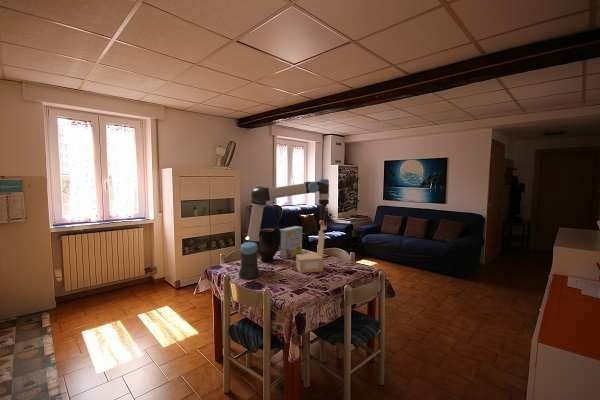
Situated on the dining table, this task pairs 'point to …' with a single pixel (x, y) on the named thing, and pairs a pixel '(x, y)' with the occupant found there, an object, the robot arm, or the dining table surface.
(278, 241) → the jug
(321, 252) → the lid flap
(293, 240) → the snack box
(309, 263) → the carton
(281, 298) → the dining table surface
